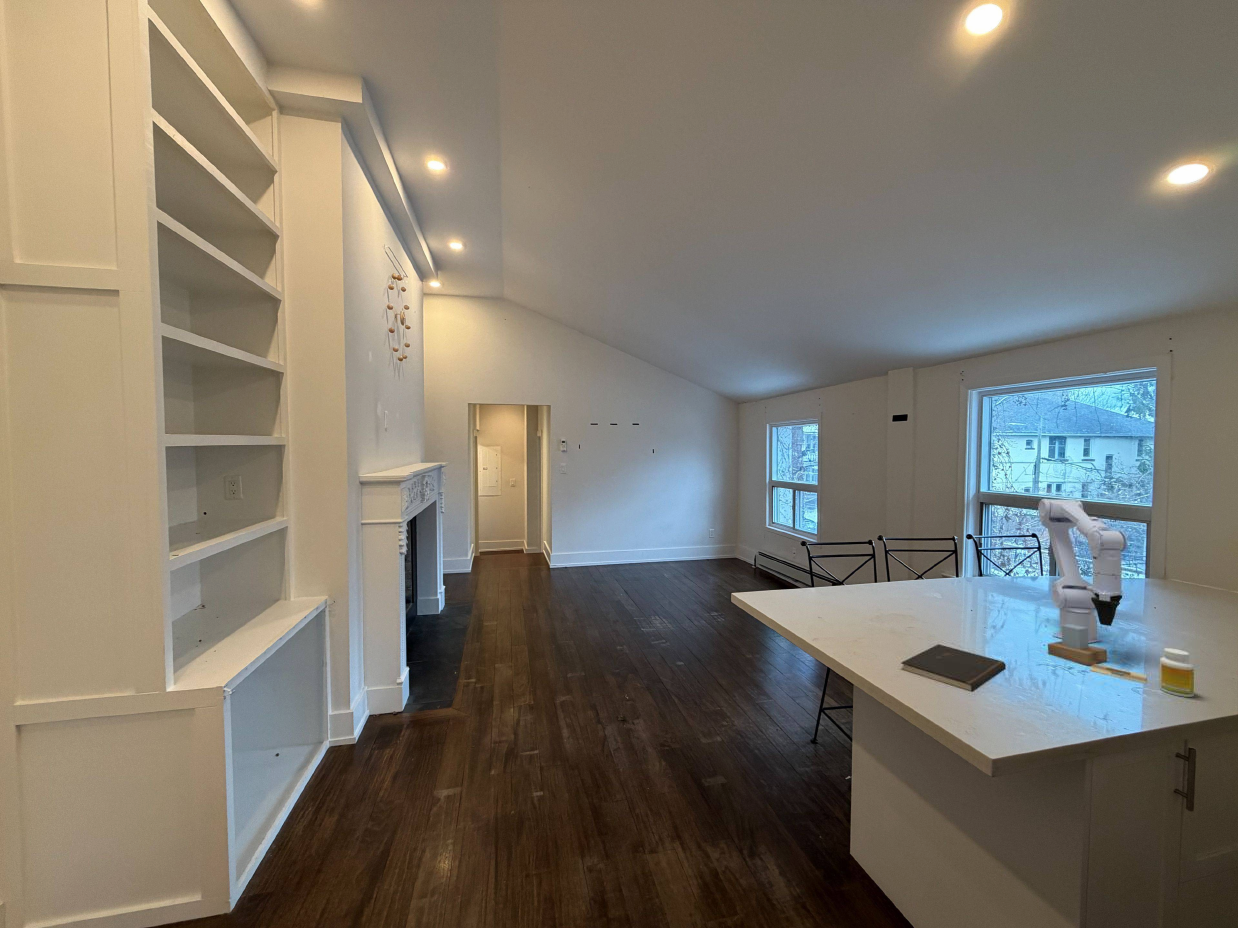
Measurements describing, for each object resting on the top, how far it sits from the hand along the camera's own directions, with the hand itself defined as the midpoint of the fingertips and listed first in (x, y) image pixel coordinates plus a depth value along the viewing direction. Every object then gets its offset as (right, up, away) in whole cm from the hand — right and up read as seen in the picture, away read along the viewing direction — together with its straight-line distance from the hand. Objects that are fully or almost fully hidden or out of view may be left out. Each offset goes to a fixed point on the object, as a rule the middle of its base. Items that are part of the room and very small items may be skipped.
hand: (1106, 622), depth 137 cm
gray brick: (-9, -7, 0) cm, 11 cm away
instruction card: (-8, -10, -11) cm, 16 cm away
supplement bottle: (-5, -10, -21) cm, 24 cm away
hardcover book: (-48, -10, -8) cm, 50 cm away
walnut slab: (-9, -10, 0) cm, 13 cm away
